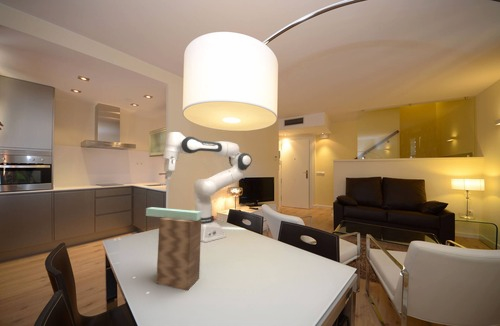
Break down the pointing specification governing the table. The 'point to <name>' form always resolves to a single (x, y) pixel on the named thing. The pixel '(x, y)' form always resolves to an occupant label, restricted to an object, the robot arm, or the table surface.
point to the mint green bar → (173, 213)
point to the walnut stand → (178, 252)
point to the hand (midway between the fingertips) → (167, 179)
